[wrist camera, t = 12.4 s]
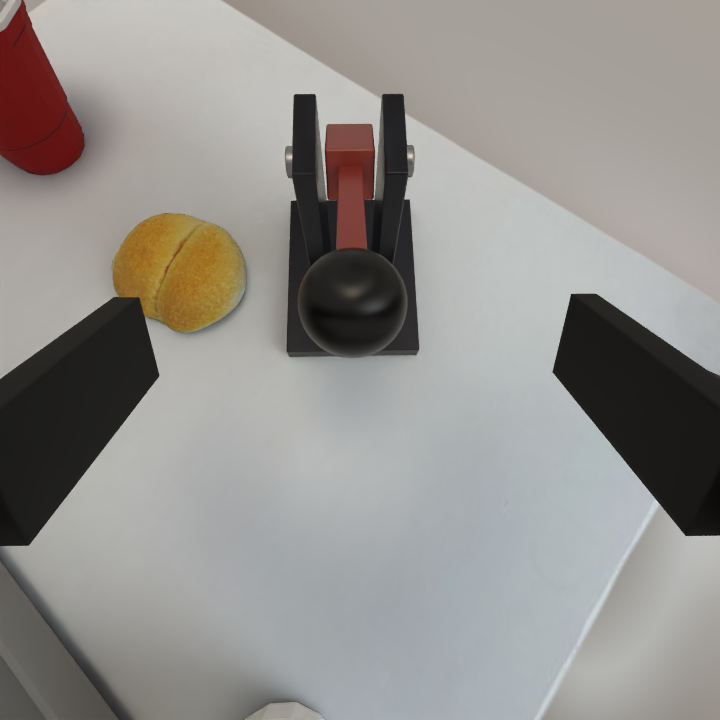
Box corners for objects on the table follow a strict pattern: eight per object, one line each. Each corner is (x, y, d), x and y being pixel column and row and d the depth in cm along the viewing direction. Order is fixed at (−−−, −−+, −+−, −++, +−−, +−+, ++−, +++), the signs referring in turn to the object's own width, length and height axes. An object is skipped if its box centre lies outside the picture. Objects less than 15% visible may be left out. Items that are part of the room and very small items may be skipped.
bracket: (417, 354, 31) (463, 251, 18) (289, 357, 31) (238, 254, 17) (407, 208, 34) (441, 31, 21) (292, 210, 34) (253, 31, 21)
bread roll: (216, 351, 31) (196, 331, 27) (108, 301, 32) (74, 275, 28) (271, 256, 33) (260, 225, 29) (169, 212, 34) (145, 177, 30)
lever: (407, 379, 15) (418, 298, 12) (300, 380, 15) (286, 299, 12) (384, 182, 23) (387, 109, 20) (316, 183, 23) (310, 110, 20)
